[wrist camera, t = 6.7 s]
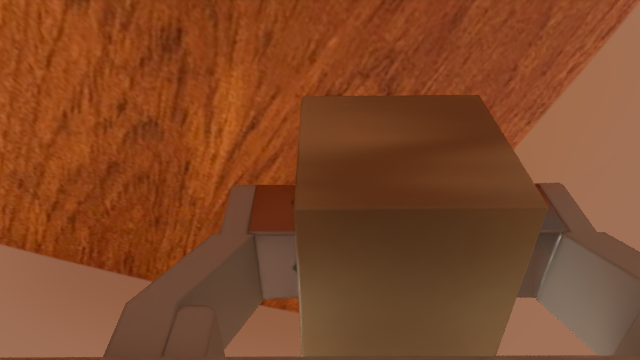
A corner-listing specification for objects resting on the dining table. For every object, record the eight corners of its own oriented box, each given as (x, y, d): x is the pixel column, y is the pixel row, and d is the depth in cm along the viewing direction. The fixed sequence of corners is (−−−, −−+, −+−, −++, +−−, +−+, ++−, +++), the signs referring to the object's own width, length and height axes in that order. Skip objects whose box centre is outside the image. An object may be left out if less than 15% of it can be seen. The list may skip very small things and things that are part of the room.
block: (479, 94, 11) (550, 206, 7) (451, 227, 13) (496, 358, 10) (301, 95, 11) (293, 208, 7) (306, 228, 13) (301, 359, 10)
